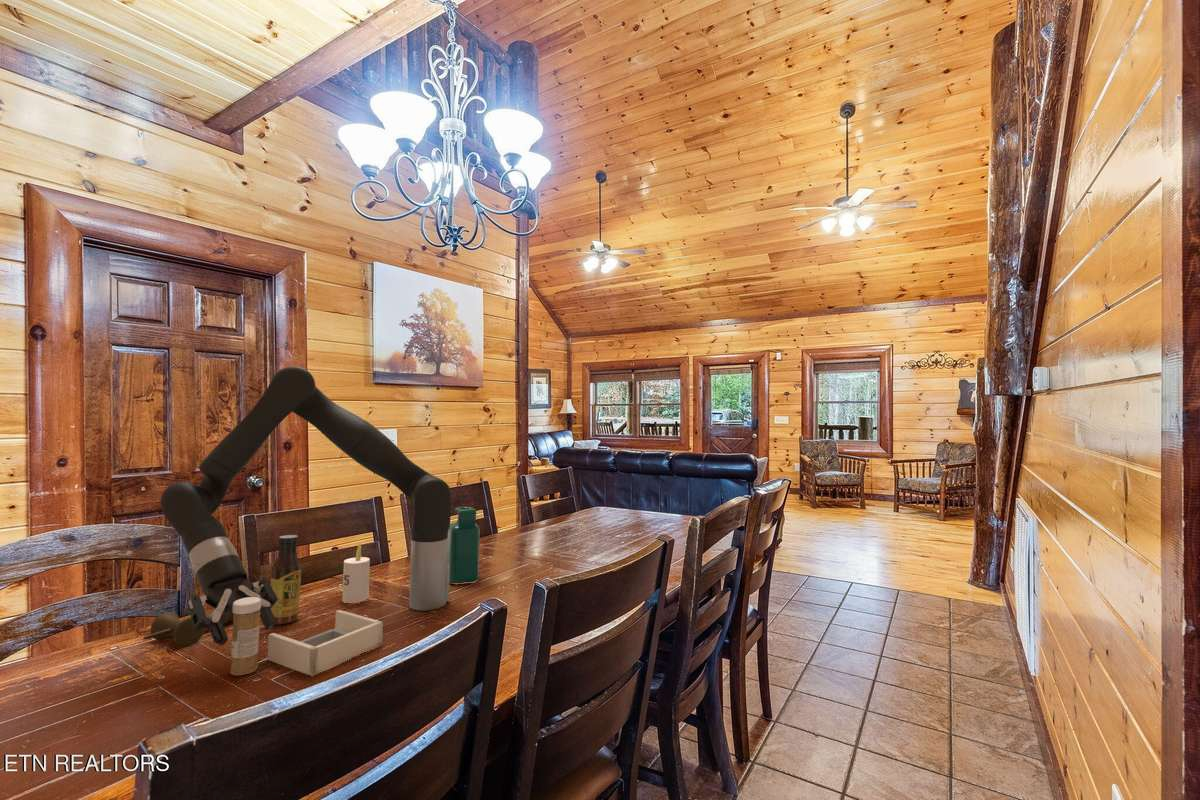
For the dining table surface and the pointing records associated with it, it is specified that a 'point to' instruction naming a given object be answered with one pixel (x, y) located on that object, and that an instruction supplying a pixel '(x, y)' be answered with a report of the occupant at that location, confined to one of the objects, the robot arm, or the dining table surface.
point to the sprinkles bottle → (245, 635)
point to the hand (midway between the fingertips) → (248, 634)
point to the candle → (356, 578)
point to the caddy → (327, 644)
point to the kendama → (180, 628)
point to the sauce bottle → (286, 581)
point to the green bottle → (463, 547)
